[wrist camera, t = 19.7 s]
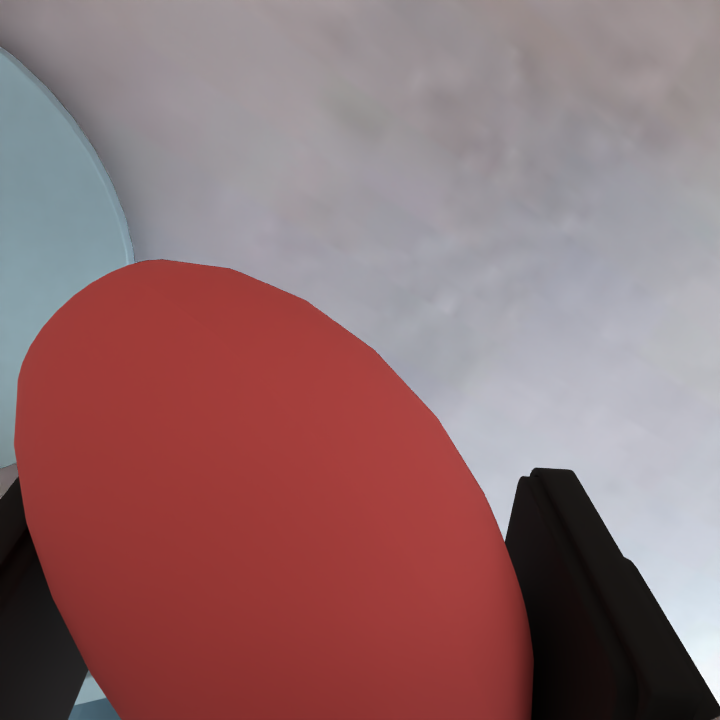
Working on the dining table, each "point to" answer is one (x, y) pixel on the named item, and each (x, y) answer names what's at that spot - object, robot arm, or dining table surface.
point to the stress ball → (258, 513)
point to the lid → (46, 222)
